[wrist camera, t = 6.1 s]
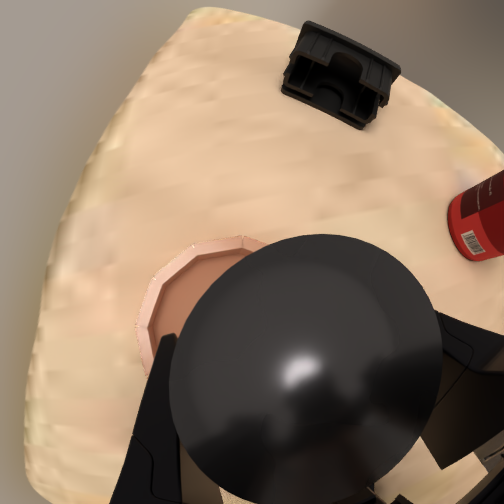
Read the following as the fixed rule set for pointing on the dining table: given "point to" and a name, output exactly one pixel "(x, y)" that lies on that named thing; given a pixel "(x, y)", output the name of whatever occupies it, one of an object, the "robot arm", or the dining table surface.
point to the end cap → (338, 75)
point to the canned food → (479, 219)
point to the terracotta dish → (184, 289)
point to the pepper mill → (306, 371)
